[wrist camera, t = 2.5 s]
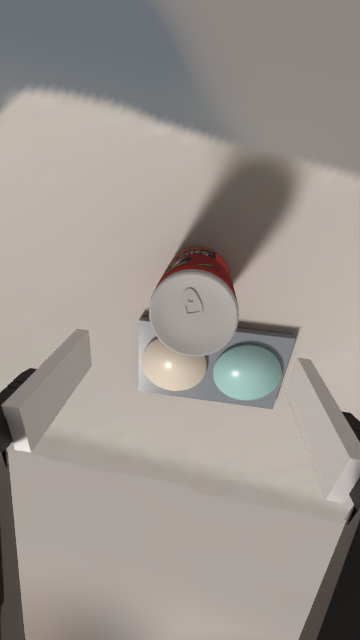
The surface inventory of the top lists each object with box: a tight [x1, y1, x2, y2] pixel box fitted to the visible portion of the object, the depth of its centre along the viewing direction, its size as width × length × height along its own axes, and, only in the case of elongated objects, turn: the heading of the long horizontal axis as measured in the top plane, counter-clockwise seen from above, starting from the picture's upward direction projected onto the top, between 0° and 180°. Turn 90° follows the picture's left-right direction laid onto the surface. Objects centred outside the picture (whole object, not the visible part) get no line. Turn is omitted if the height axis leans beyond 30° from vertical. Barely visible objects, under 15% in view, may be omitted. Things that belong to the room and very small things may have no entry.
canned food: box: [149, 247, 239, 356], centre depth 26 cm, size 8×8×11 cm
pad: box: [213, 344, 282, 400], centre depth 35 cm, size 9×9×1 cm
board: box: [138, 316, 296, 409], centre depth 36 cm, size 20×12×2 cm, turn 85°
